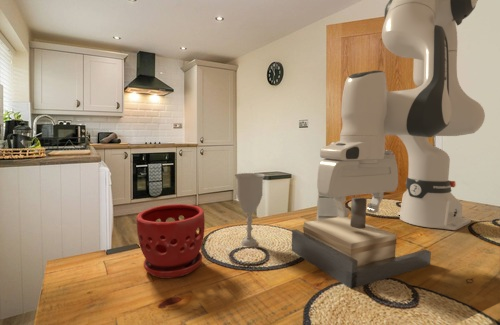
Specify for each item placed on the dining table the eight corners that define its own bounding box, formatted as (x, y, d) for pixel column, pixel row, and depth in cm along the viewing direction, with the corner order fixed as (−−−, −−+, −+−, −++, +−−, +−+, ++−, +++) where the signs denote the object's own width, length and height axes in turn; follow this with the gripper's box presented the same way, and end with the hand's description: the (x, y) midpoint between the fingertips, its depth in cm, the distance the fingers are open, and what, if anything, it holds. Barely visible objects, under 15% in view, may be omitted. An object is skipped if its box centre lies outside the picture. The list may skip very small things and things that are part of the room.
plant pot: (152, 254, 65) (151, 203, 64) (209, 255, 64) (209, 204, 63) (125, 283, 52) (124, 219, 51) (197, 285, 51) (196, 221, 50)
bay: (360, 241, 75) (362, 218, 74) (429, 270, 58) (431, 242, 58) (291, 255, 65) (292, 230, 64) (350, 295, 49) (352, 261, 48)
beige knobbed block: (343, 244, 69) (345, 191, 68) (394, 268, 57) (398, 204, 55) (302, 252, 64) (304, 195, 63) (349, 281, 51) (353, 211, 50)
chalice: (241, 256, 64) (242, 177, 63) (229, 245, 70) (230, 174, 69) (269, 250, 68) (270, 176, 66) (255, 241, 74) (256, 172, 72)
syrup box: (337, 235, 79) (340, 184, 78) (316, 233, 80) (318, 183, 79) (335, 228, 84) (337, 180, 83) (315, 227, 86) (317, 180, 84)
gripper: (382, 148, 67) (379, 206, 68) (313, 149, 58) (311, 215, 59) (407, 150, 61) (403, 212, 62) (335, 151, 52) (332, 224, 53)
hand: (358, 214), depth 61 cm, fingers open, 7 cm apart
